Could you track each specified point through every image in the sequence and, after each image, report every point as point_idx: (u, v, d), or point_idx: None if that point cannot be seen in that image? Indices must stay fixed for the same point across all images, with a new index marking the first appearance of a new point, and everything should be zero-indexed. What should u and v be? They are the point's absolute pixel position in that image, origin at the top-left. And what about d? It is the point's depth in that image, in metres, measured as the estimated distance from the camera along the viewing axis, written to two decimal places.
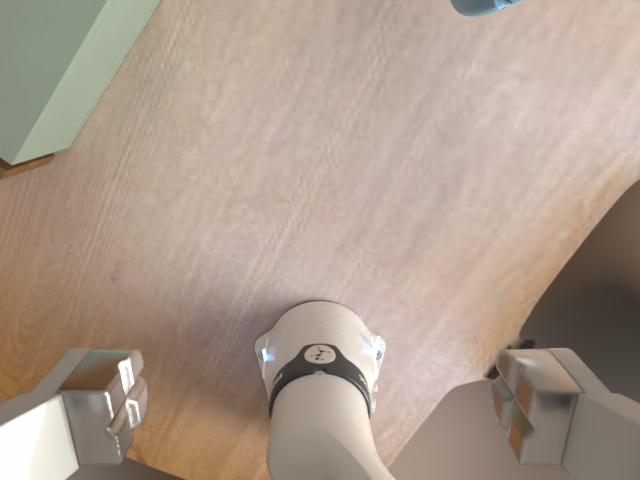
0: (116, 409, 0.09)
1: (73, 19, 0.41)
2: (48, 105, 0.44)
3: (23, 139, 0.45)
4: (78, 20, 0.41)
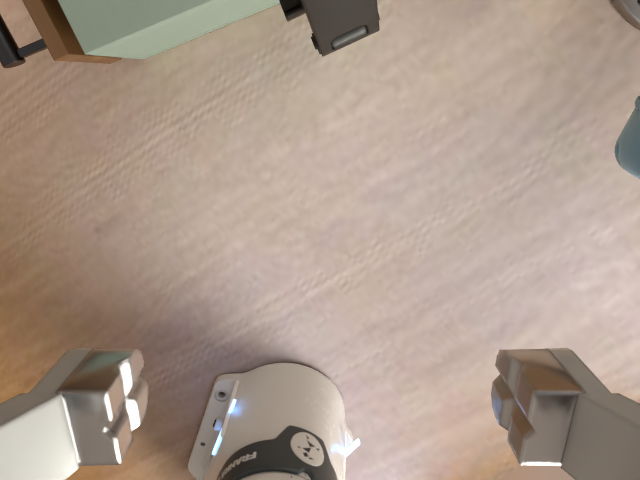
0: (116, 409, 0.09)
1: None
2: (183, 14, 0.31)
3: (123, 34, 0.31)
4: None
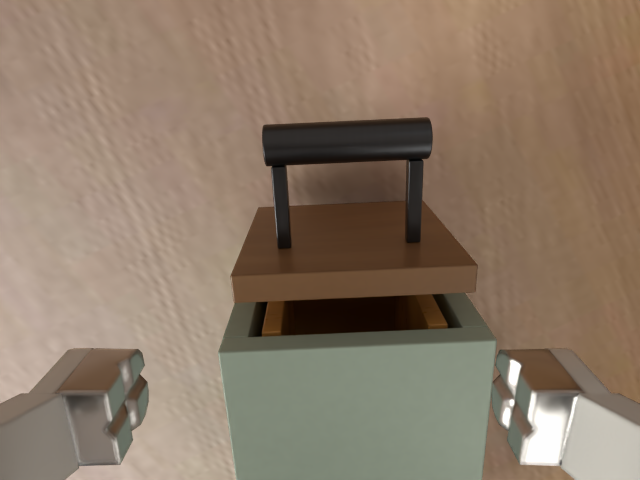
0: (116, 409, 0.09)
1: None
2: None
3: (233, 417, 0.18)
4: None
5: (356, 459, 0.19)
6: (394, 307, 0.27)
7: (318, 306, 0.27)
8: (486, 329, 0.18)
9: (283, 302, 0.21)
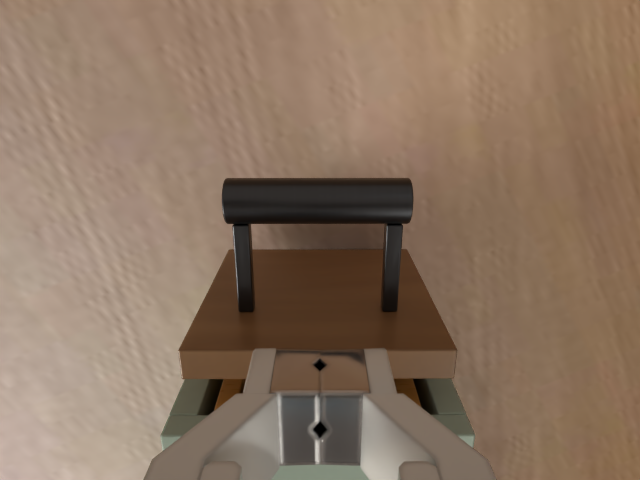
0: None
1: None
2: None
3: None
4: None
5: None
6: None
7: None
8: (464, 419, 0.16)
9: None
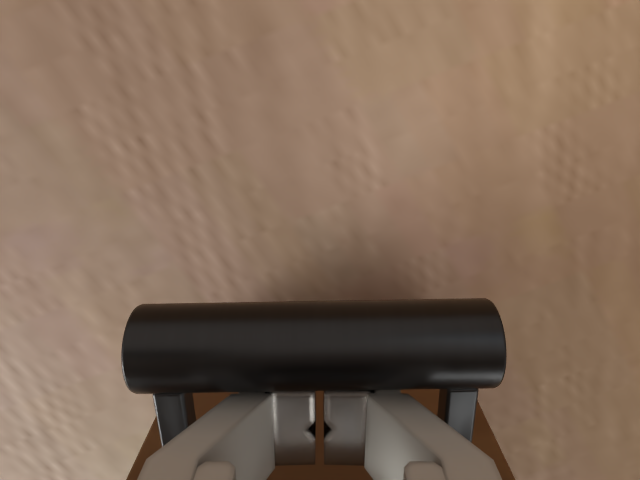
0: (315, 409, 0.09)
1: None
2: None
3: None
4: None
5: None
6: None
7: None
8: None
9: None
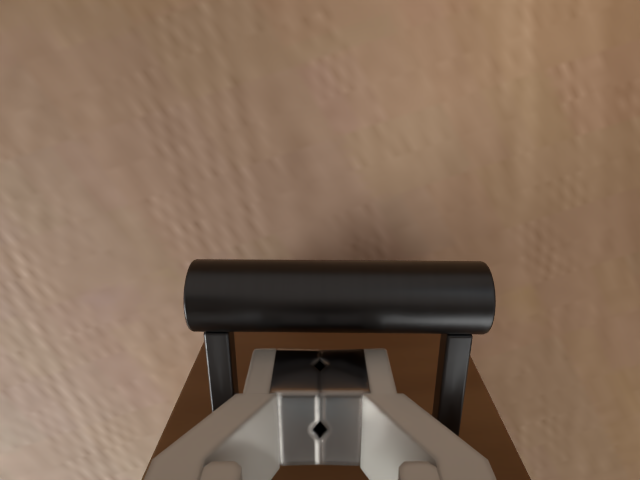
0: None
1: None
2: None
3: None
4: None
5: None
6: None
7: None
8: None
9: None
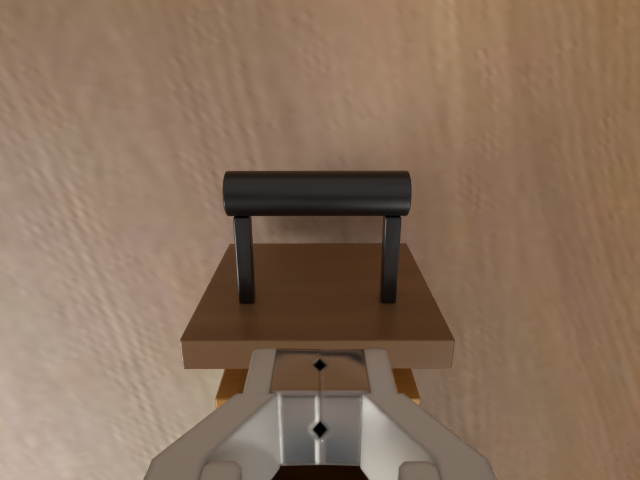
0: None
1: None
2: None
3: None
4: None
5: None
6: None
7: None
8: None
9: None
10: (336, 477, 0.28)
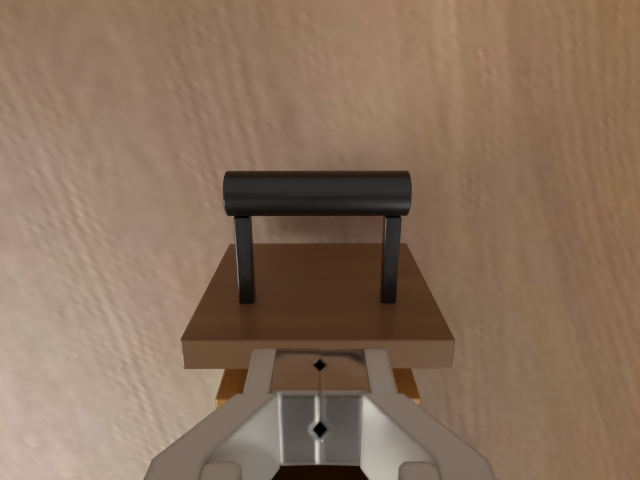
0: None
1: None
2: None
3: None
4: None
5: None
6: None
7: None
8: None
9: None
10: (336, 477, 0.28)
